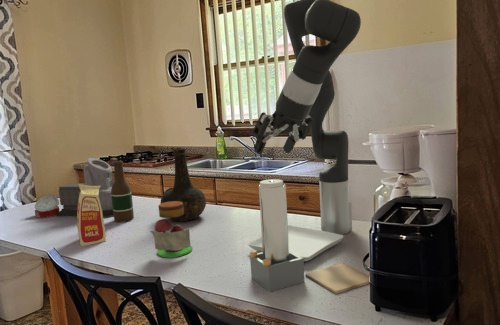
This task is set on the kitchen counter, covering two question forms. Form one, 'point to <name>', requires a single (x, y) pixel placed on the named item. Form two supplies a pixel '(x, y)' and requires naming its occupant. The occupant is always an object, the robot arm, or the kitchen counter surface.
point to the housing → (276, 271)
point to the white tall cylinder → (274, 220)
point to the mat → (339, 278)
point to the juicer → (94, 176)
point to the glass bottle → (184, 190)
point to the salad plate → (305, 241)
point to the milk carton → (90, 216)
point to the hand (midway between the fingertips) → (271, 151)
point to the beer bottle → (121, 195)
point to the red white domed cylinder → (47, 207)
